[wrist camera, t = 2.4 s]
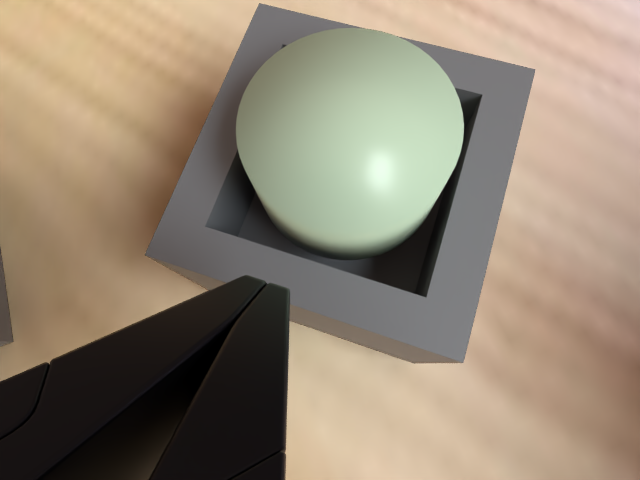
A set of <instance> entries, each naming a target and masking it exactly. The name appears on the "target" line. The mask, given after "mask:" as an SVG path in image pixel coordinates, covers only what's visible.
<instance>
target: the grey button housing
mask: <svg viewBox="0 0 640 480" xmlns="http://www.w3.org/2000/svg"><path fill="white" fill-rule="evenodd" d="M339 28H360V27H356V26H352V25H348V24H344V23H340V22H335V21H331V20H327V19H323V18H319V17H315V16H310V15H306V14H302V13H298V12H294V11H290V10H285V9H281V8H277V7H273V6H269V5H265V4H260V3H259V5H258V7H257V9H256V12H255V14H254V16H253V18H252V20H251V23H250V25H249V27H248V29H247V31H246V34H245V36H244V38H243V40H242V42H241V44H240V47H239V49H238V51H237V53H236V55H235V58H234V60H233V62H232V64H231V66H230V69H229V71H228V73H227V75H226V77H225V80H224V82H223V84H222V86H221V88H220V91H219V93H218V95H217V97H216V99H215V102H214V104H213V106H212V108H211V110H210V113H209V115H208V117H207V119H206V121H205V124H204V126H203V128H202V130H201V132H200V135H199V137H198V139H197V141H196V143H195V146H194V148H193V150H192V152H191V154H190V157H189V159H188V161H187V163H186V165H185V168H184V170H183V172H182V174H181V176H180V179H179V181H178V183H177V185H176V187H175V190H174V192H173V194H172V196H171V198H170V201H169V203H168V205H167V207H166V209H165V212H164V214H163V216H162V218H161V220H160V222H159V225H158V227H157V229H156V231H155V233H154V236H153V238H152V240H151V242H150V244H149V247H148V249H147V251H146V253H145V255H146V256H147V257H149V258H151V259H153V260H155V261H157V262H158V263H160V264H162V265H164V266H166V267H168V268H169V269H171V270H173V271H175V272H177V273H179V274H180V275H182V276H184V277H186V278H188V279H189V280H191V281H193V282H195V283H197V284H199V285H200V286H202V287H204V288H206V289H208V290H211V289H214V288H216V287H218V286H221V285H223V284H225V283H227V282H230V281H232V280H234V279H237V278H239V277H241V276H244V275H249V276H252V277H255V278H258V279H261V280H264V281H266V283H267V284H268V283H274V284H277V285H280V286H283V287H286V288H288V289H289V290H290V319H289V320H290V321H293V322H295V323H298V324H301V325H304V326H307V327H310V328H313V329H316V330H319V331H322V332H324V333H327V334H330V335H333V336H336V337H339V338H342V339H345V340H348V341H351V342H354V343H356V344H359V345H362V346H365V347H368V348H371V349H374V350H377V351H380V352H383V353H386V354H388V355H391V356H394V357H397V358H400V359H403V360H406V361H409V362H412V363H463V362H464V358H465V354H466V350H467V346H468V342H469V338H470V334H471V330H472V326H473V322H474V318H475V313H476V309H477V305H478V301H479V297H480V293H481V289H482V285H483V281H484V277H485V273H486V269H487V265H488V261H489V256H490V252H491V248H492V244H493V240H494V236H495V232H496V228H497V224H498V220H499V216H500V212H501V208H502V204H503V200H504V195H505V191H506V187H507V183H508V179H509V175H510V171H511V167H512V163H513V159H514V155H515V151H516V147H517V143H518V139H519V134H520V130H521V126H522V122H523V118H524V114H525V110H526V106H527V102H528V98H529V94H530V90H531V86H532V82H533V77H534V73H535V69H531V68H527V67H523V66H519V65H515V64H510V63H506V62H502V61H498V60H494V59H490V58H485V57H481V56H477V55H473V54H469V53H465V52H460V51H456V50H452V49H448V48H444V47H440V46H435V45H431V44H427V43H423V42H419V41H415V40H410V39H406V38H402V37H399V38H402V39H404V40H406V41H408V42H410V43H412V44H413V45H415V46H417V47H419V48H420V49H421V50H423V51H424V52H425V53H427V54H428V55H429V56H430V57H431V58H432V59H433V60H434V61H436V62H437V63H438V64H439V65H440V67H441V68H442V69H443V71H444V72H445V73H446V74H447V76H448V77H449V79H450V81H451V82H452V84H453V86H454V88H455V90H456V92H457V95H458V97H459V100H460V104H461V108H462V112H463V121H464V135H463V143H462V148H461V153H460V155H459V158H458V161H457V164H456V166H455V168H454V170H453V172H452V174H451V175H450V177H449V179H448V181H447V183H446V184H445V186H444V188H443V190H442V191H441V193H440V195H439V197H438V198H437V200H436V202H435V204H434V206H433V207H432V209H431V211H430V213H429V214H428V216H427V218H426V220H425V221H424V222H423V224H422V225H421V226H420V228H419V229H418V230H417V231H416V232H415V233H414V234H413V235H412V236H411V237H410V238H409V239H407V240H406V241H405V242H403V243H402V244H401V245H399V246H397V247H396V248H394V249H392V250H391V251H388V252H386V253H383V254H381V255H378V256H374V257H371V258H367V259H360V260H336V259H329V258H325V257H321V256H317V255H315V254H312V253H310V252H307V251H305V250H303V249H302V248H300V247H298V246H296V245H295V244H294V243H292V242H291V241H290V240H288V239H287V238H286V237H285V236H284V235H283V234H282V233H281V232H280V231H279V230H278V229H277V228H276V226H275V225H274V224H273V223H272V221H271V219H270V218H269V216H268V214H267V212H266V210H265V209H264V207H263V205H262V203H261V201H260V199H259V197H258V195H257V193H256V191H255V189H254V187H253V185H252V183H251V181H250V179H249V177H248V175H247V173H246V171H245V169H244V167H243V164H242V162H241V159H240V156H239V152H238V147H237V140H236V119H237V114H238V109H239V105H240V102H241V99H242V96H243V94H244V92H245V90H246V88H247V86H248V84H249V82H250V81H251V79H252V78H253V76H254V75H255V73H256V72H257V71H258V70H259V69H260V67H261V66H262V65H263V64H264V63H265V62H266V61H267V60H268V59H269V58H271V57H272V56H273V55H274V54H275V53H276V52H278V51H279V50H281V49H282V48H284V47H285V46H287V45H288V44H290V43H292V42H294V41H296V40H298V39H300V38H303V37H306V36H308V35H311V34H314V33H318V32H322V31H325V30H332V29H339ZM363 29H365V28H363ZM397 37H398V36H397Z"/></svg>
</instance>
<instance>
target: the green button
mask: <svg viewBox="0 0 640 480" xmlns="http://www.w3.org/2000/svg"><path fill="white" fill-rule="evenodd" d="M463 135H464V121H463V112H462V108H461V104H460V100H459V97H458V95H457V92H456V90H455V88H454V86H453V84H452V82H451V81H450V79H449V77H448V76H447V74H446V73H445V72H444V71H443V69H442V68H441V67H440V65H439V64H438V63H437V62H436V61H434V60H433V59H432V58H431V57H430V56H429V55H428V54H427V53H425V52H424V51H423V50H421V49H420V48H419V47H417V46H415V45H413V44H412V43H410V42H408V41H406V40H404V39H402V38H399V37H397V36H395V35H392V34H388V33H385V32H382V31H377V30H371V29H363V28H339V29H332V30H325V31H322V32H318V33H314V34H311V35H308V36H306V37H303V38H300V39H298V40H296V41H294V42H292V43H290V44H288V45H287V46H285V47H284V48H282V49H281V50H279V51H278V52H276V53H275V54H274V55H273V56H272V57H271V58H269V59H268V60H267V61H266V62H265V63H264V64H263V65H262V66H261V67H260V69H259V70H258V71H257V72H256V73H255V75H254V76H253V78H252V79H251V81H250V82H249V84H248V86H247V88H246V90H245V92H244V94H243V96H242V99H241V102H240V105H239V109H238V114H237V119H236V140H237V147H238V152H239V156H240V159H241V162H242V164H243V167H244V169H245V171H246V173H247V175H248V177H249V179H250V181H251V183H252V185H253V187H254V189H255V191H256V193H257V195H258V197H259V199H260V201H261V203H262V205H263V207H264V209H265V210H266V212H267V214H268V216H269V218H270V219H271V221H272V223H273V224H274V225H275V226H276V228H277V229H278V230H279V231H280V232H281V233H282V234H283V235H284V236H285V237H286V238H287V239H288V240H290V241H291V242H292V243H294V244H295V245H296V246H298V247H300V248H302V249H303V250H305V251H307V252H310V253H312V254H315V255H317V256H321V257H325V258H329V259H336V260H360V259H367V258H371V257H374V256H378V255H381V254H383V253H386V252H388V251H391V250H392V249H394V248H396V247H397V246H399V245H401V244H402V243H403V242H405V241H406V240H407V239H409V238H410V237H411V236H412V235H413V234H414V233H415V232H416V231H417V230H418V229H419V228H420V226H421V225H422V224H423V222H424V221H425V220H426V218H427V216H428V214H429V213H430V211H431V209H432V207H433V206H434V204H435V202H436V200H437V198H438V197H439V195H440V193H441V191H442V190H443V188H444V186H445V184H446V183H447V181H448V179H449V177H450V175H451V174H452V172H453V170H454V168H455V166H456V164H457V161H458V158H459V155H460V153H461V148H462V143H463Z"/></svg>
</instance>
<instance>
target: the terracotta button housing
mask: <svg viewBox="0 0 640 480" xmlns="http://www.w3.org/2000/svg"><path fill="white" fill-rule="evenodd" d="M11 342H13V336H12V329H11V322H10V314H9V307H8V300H7V293H6V285H5V278H4V271H3V264H2V256H1V249H0V346H3V345H6V344H9V343H11Z"/></svg>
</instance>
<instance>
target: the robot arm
mask: <svg viewBox="0 0 640 480" xmlns="http://www.w3.org/2000/svg"><path fill="white" fill-rule="evenodd" d="M289 319H290V290H289V289H288V288H286V287H283V286H280V285H277V284H274V283H268V284H267V283H266V281H264V280H261V279H258V278H255V277H252V276H249V275H244V276H241V277H239V278H237V279H234V280H232V281H230V282H227V283H225V284H223V285H221V286H218V287H216V288H214V289H211V290H209V291H207V292H205V293H202V294H200V295H198V296H196V297H193V298H191V299H189V300H186V301H184V302H182V303H180V304H177V305H175V306H173V307H170V308H168V309H166V310H164V311H161V312H159V313H157V314H155V315H152V316H150V317H148V318H145V319H143V320H141V321H139V322H136V323H134V324H132V325H129V326H127V327H125V328H123V329H120V330H118V331H116V332H114V333H111V334H109V335H107V336H104V337H102V338H100V339H98V340H95V341H93V342H91V343H88V344H86V345H84V346H82V347H79V348H77V349H75V350H73V351H70V352H68V353H66V354H63V355H61V356H59V357H57V358H54V359H52V361H51V362H50V364H49V363H47V362H45V363H42V364H40V365H38V366H36V367H33V368H31V369H29V370H27V371H24V372H22V373H20V374H17V375H15V376H13V377H10V378H8V379H5V380H3V381H1V382H0V480H285V473H286V454H285V451H286V427H287V391H288V355H289Z"/></svg>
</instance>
